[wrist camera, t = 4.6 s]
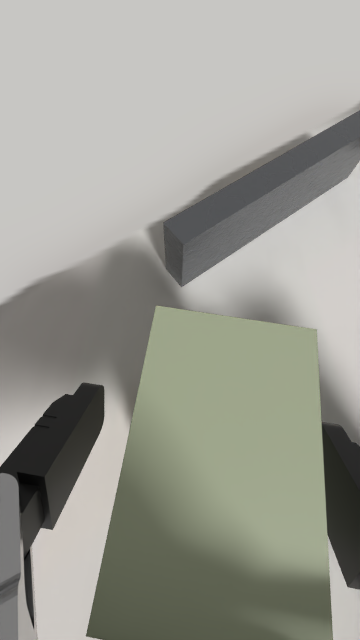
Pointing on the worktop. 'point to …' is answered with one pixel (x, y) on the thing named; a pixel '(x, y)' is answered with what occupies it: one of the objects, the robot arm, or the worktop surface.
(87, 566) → the worktop surface
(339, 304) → the worktop surface
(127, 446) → the carton
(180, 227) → the rail
